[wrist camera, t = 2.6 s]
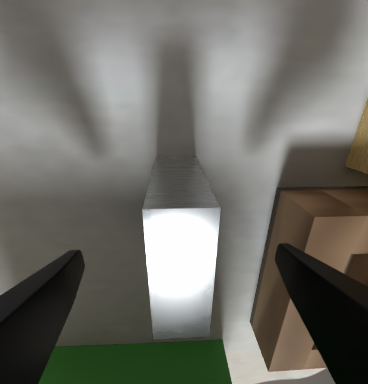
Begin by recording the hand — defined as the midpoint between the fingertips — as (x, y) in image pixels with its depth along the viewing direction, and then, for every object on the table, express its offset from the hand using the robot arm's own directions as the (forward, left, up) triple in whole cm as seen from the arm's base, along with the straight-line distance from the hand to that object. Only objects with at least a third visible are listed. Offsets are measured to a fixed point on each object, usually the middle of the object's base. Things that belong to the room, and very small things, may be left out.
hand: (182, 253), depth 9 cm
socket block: (-12, +6, -5) cm, 14 cm away
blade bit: (0, 0, -5) cm, 5 cm away
